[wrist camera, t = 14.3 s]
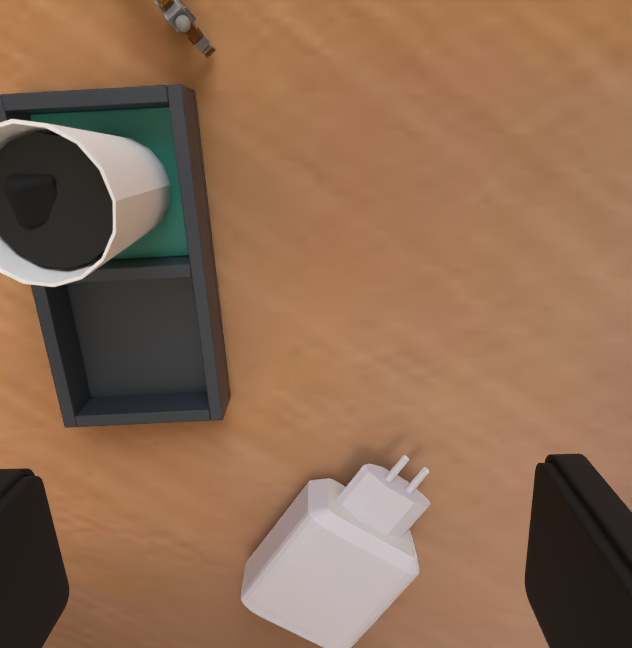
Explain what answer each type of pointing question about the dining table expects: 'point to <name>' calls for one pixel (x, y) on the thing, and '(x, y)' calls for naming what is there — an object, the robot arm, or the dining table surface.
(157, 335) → the grey divided tray
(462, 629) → the dining table surface
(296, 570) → the charger
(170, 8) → the wooden post with brackets
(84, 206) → the coffee cup
